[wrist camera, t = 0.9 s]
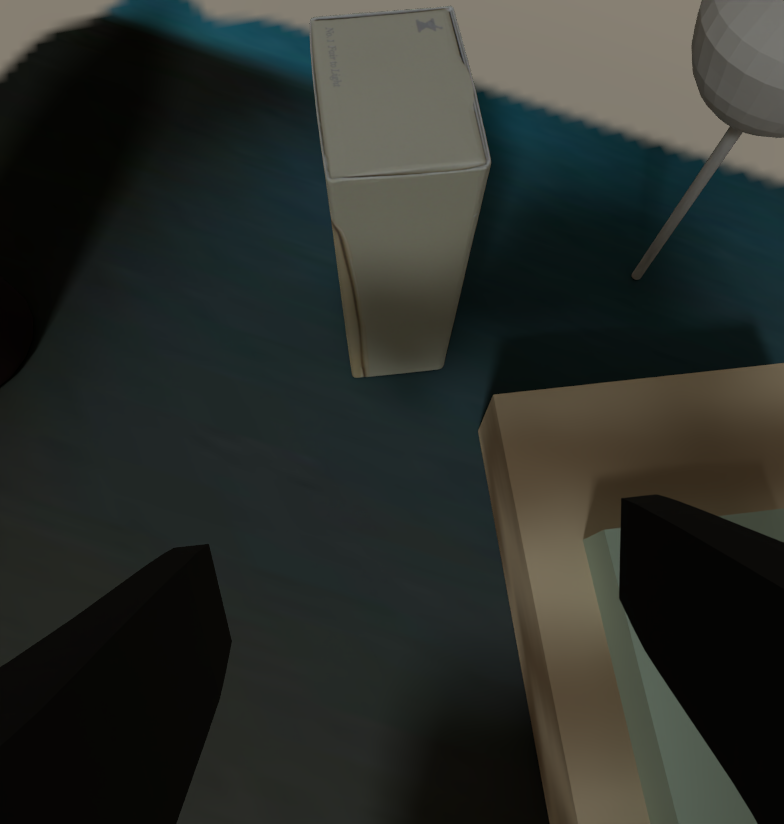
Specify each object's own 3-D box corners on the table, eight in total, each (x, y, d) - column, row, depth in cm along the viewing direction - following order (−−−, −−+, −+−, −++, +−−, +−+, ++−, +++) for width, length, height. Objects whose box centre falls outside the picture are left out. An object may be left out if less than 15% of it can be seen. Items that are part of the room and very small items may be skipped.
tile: (874, 844, 15) (941, 874, 13) (662, 873, 15) (700, 908, 13) (758, 518, 18) (799, 506, 17) (582, 539, 18) (603, 529, 16)
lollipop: (625, 351, 25) (908, 9, 11) (548, 260, 27) (709, -130, 13) (726, 292, 26) (1097, -86, 12) (645, 208, 28) (889, -202, 14)
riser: (971, 994, 17) (1132, 1096, 13) (591, 1052, 17) (647, 1174, 13) (746, 401, 24) (809, 360, 21) (477, 431, 24) (493, 394, 20)
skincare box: (340, 268, 27) (301, 10, 16) (430, 259, 27) (454, -3, 16) (352, 384, 25) (316, 180, 13) (450, 373, 25) (496, 162, 14)
